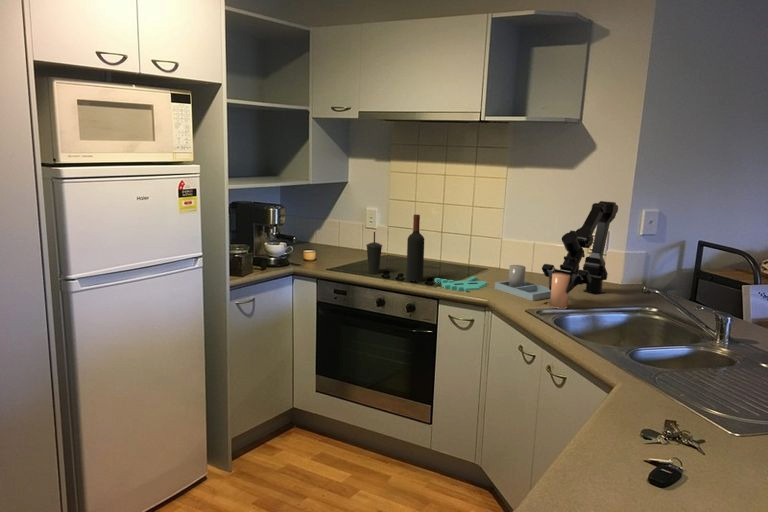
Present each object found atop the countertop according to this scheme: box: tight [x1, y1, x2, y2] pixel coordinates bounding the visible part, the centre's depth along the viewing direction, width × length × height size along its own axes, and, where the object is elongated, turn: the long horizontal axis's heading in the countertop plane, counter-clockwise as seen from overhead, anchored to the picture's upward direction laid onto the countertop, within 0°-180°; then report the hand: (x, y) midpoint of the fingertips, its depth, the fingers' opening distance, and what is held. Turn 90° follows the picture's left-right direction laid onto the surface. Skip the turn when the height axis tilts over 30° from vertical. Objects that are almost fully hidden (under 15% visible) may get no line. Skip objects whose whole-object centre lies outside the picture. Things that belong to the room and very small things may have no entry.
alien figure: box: [434, 276, 489, 293], centre depth 261 cm, size 20×2×20 cm
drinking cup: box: [366, 231, 383, 275], centre depth 280 cm, size 8×8×20 cm
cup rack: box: [494, 280, 551, 301], centre depth 249 cm, size 14×22×4 cm, turn 32°
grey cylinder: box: [508, 264, 526, 288], centre depth 252 cm, size 7×7×10 cm
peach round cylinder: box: [549, 273, 570, 308], centre depth 230 cm, size 7×7×13 cm
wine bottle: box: [405, 214, 425, 283], centre depth 267 cm, size 8×8×30 cm
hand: (558, 291), depth 229 cm, fingers closed on peach round cylinder, 7 cm apart
